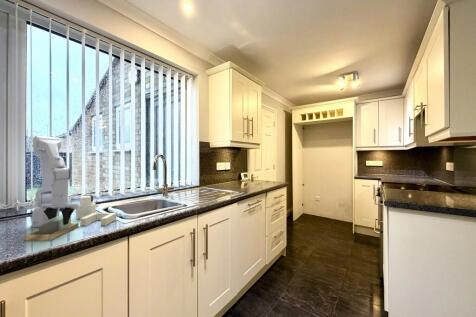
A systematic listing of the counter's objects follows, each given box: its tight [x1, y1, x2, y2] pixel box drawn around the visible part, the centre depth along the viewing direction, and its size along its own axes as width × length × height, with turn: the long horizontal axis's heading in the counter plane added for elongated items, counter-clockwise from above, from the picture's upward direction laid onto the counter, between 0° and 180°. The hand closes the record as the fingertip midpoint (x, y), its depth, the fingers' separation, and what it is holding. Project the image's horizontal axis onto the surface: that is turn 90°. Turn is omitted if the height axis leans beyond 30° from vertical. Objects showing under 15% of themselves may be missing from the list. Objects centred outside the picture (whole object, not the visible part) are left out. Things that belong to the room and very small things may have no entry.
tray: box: [23, 222, 80, 242], centre depth 89 cm, size 10×16×2 cm, turn 5°
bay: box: [79, 212, 117, 226], centre depth 105 cm, size 12×10×4 cm
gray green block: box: [38, 214, 72, 235], centre depth 90 cm, size 5×12×5 cm, turn 5°
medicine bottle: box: [75, 194, 96, 220], centre depth 114 cm, size 7×7×12 cm
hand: (59, 224), depth 92 cm, fingers closed on gray green block, 5 cm apart
